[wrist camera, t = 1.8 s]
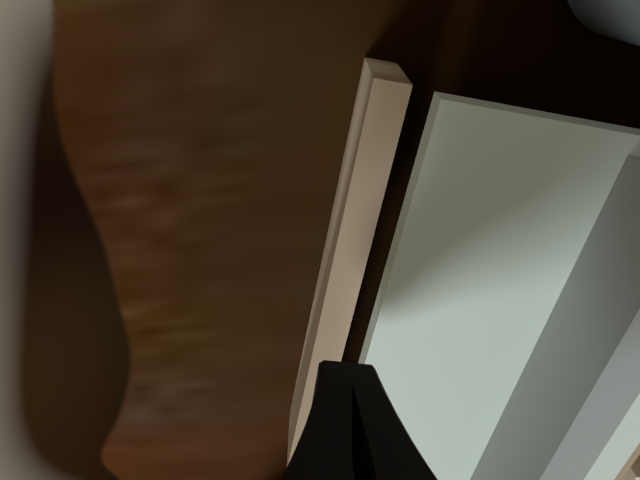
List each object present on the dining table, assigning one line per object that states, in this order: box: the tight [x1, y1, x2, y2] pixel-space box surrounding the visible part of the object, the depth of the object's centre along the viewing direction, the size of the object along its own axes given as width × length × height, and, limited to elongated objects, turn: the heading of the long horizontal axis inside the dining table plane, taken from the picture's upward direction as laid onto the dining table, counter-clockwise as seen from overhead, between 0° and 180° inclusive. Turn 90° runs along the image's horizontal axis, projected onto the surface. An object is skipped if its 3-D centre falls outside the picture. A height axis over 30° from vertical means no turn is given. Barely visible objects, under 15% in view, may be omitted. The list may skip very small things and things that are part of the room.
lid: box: [358, 91, 640, 480], centre depth 15 cm, size 10×14×4 cm
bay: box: [287, 57, 640, 480], centre depth 19 cm, size 20×15×3 cm
